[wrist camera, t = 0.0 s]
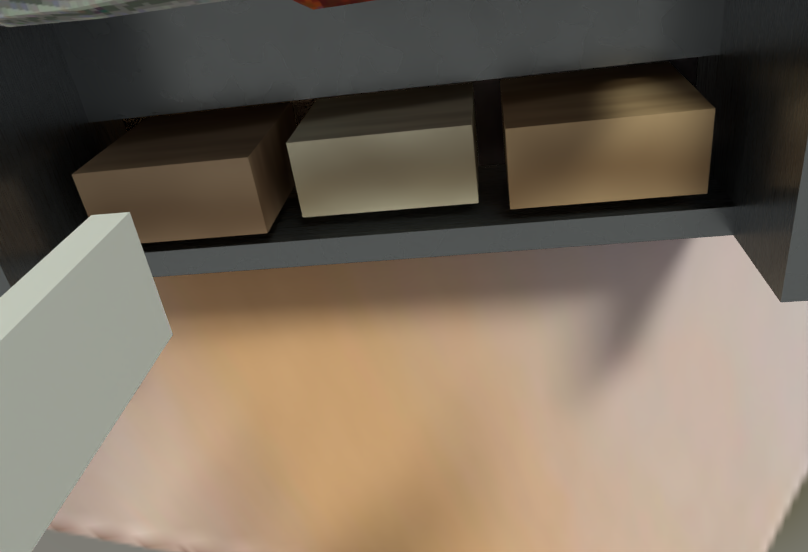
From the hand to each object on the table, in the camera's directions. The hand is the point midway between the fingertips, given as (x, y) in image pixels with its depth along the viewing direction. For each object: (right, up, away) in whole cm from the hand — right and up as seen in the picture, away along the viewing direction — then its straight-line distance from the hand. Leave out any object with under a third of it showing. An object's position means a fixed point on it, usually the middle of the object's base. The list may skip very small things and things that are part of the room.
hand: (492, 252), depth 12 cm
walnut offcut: (-12, +8, +29) cm, 33 cm away
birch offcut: (-2, +8, +28) cm, 29 cm away
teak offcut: (+9, +9, +26) cm, 29 cm away
